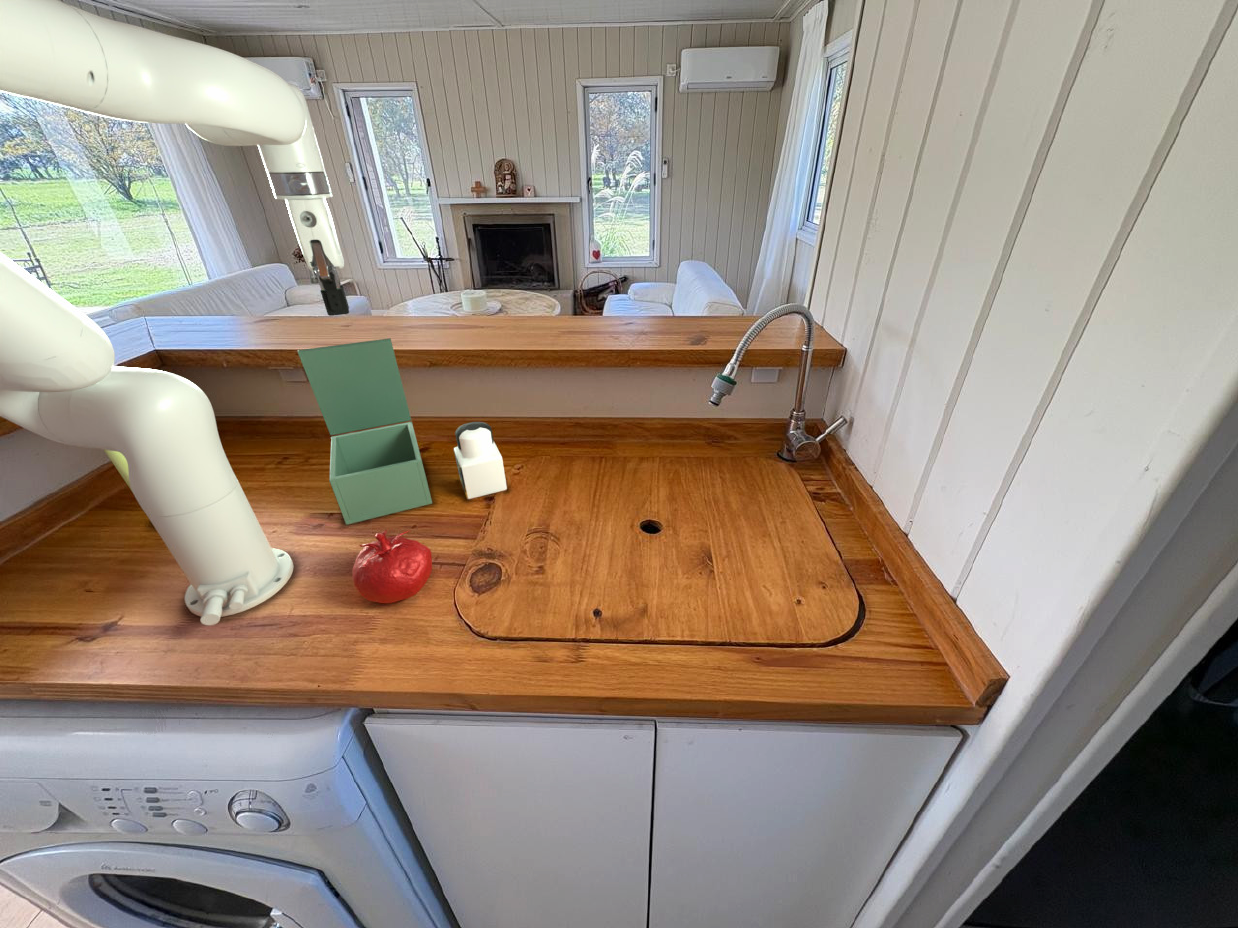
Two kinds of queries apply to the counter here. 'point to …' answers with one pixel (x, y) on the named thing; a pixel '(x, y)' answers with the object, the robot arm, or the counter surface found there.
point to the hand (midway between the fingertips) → (338, 311)
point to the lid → (356, 385)
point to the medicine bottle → (479, 460)
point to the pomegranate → (391, 568)
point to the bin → (377, 472)
